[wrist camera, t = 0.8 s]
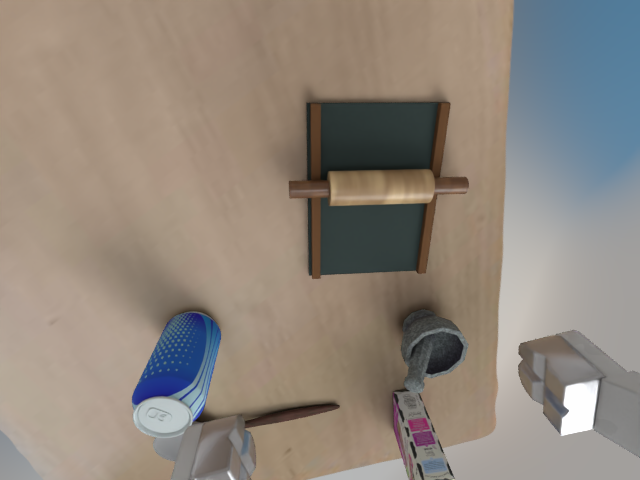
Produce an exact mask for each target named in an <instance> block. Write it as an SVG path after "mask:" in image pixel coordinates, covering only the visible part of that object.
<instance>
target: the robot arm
mask: <svg viewBox="0 0 640 480" xmlns="http://www.w3.org/2000/svg"><path fill="white" fill-rule="evenodd" d="M519 355H520V356H521V357H522V358H523V360H522V361H521V363H520V364H519V365H518V370H519V377H520V380H521V383H522V385H523V387H524V388H525V390H526V392H527V393H528V394H529V396H530V397H531V398H532V399H533V400H534V401H536V402H539V403H541V404H543V413H544V415H545V416H546V417H547V418H548V420H549V421H550V422H551V424H552V425H553V426H554V427H555V429H556V430H557V431H558V432H559V433H560V435H566V434H570V433H575V432H580V431H584V430H589V429H594V431H596V432H598V433H599V434H601V435H603V436H604V437H606V438H608V439H609V440H611V441H613V442H614V443H616V444H618V445H619V446H621V447H623V448H624V449H626V450H628V451H629V452H631V453H633V454H634V455H636V456H638V457H639V458H640V373H638V372H635V371H630V372H627V371H626V370H625V369H624V368H623V367H621V366H620V365H619V364H618V363H617V362H615V361H614V360H613V359H612V358H610V357H609V356H608V355H607V354H606V353H604V352H603V351H602V350H601V349H599V348H598V347H597V346H596V345H594V343H592V342H591V341H590V340H589V339H587V338H586V337H585V336H584V335H582V334H581V333H580V332H579V331H576V330H571V331H567V332H563V333H559V334H556V335H551V336H547V337H543V338H539V339H535V340H532V341H528V342H524V343H521V344H520V346H519ZM255 468H256V450H255V444H254V440H253V437H252V435H251V433H250V432H249V431H247V430H245V420H244V419H243V417H242V415H234V416H230V417H225V418H221V419H216V420H212V421H207V422H204V423H199V424H195V425H191V426H188V427H187V429H186V430H185V432H184V435H183V438H182V442H181V445H180V448H179V452H178V455H177V459H176V462H175V466H174V469H173V473H172V476H171V479H170V480H251V478H250V476H251V475H252V473H253V472H254V470H255Z"/></svg>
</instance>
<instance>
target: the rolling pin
mask: <svg viewBox="0 0 640 480" xmlns="http://www.w3.org/2000/svg"><path fill="white" fill-rule="evenodd" d="M468 187H469V182H468V179H467V178H466V177H434V175H433V173H432V171H431V170H430V169H404V170H356V171H328V174H327V180H305V181H289V196H290V199H291V198H327V199H328V204H329V206H350V205H383V204H416V203H429V202H431V200H432V198H433V195H435V194H465V193H466V192H467V191H468Z"/></svg>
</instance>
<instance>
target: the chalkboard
mask: <svg viewBox="0 0 640 480" xmlns="http://www.w3.org/2000/svg"><path fill="white" fill-rule="evenodd" d="M449 111H450V103H449V102H446V103H307V167H308V180H327V174H328V171H356V170H404V169H430V170H431V171H432V173H433V175H434V177H440V172H441V165H442V158H443V152H444V145H445V138H446V131H447V124H448V117H449ZM436 199H437V194H435V195H433V198H432V200H431V202H429V203H416V204H383V205H350V206H329V204H328V199H327V198H308V242H309V275H312V279H319V278H320V275H331V274H352V273H373V272H394V271H415V270H416V271H417V273H418V274H422V273H426V267H427V260H428V254H429V247H430V240H431V233H432V226H433V220H434V213H435V206H436Z"/></svg>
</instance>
